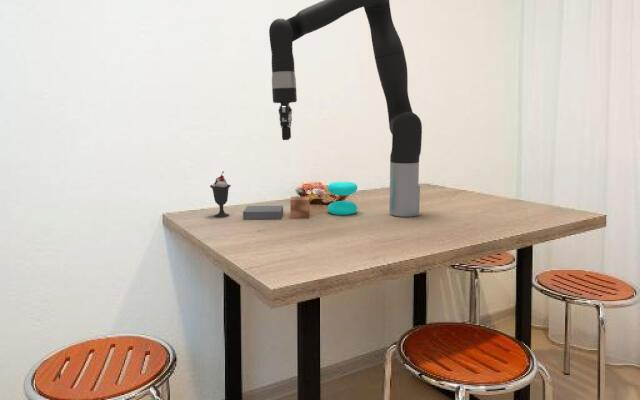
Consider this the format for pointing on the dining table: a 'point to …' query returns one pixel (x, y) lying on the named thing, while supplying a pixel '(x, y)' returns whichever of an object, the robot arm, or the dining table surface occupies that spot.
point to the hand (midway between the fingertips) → (286, 139)
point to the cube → (300, 207)
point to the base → (262, 212)
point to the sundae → (220, 194)
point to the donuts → (342, 206)
